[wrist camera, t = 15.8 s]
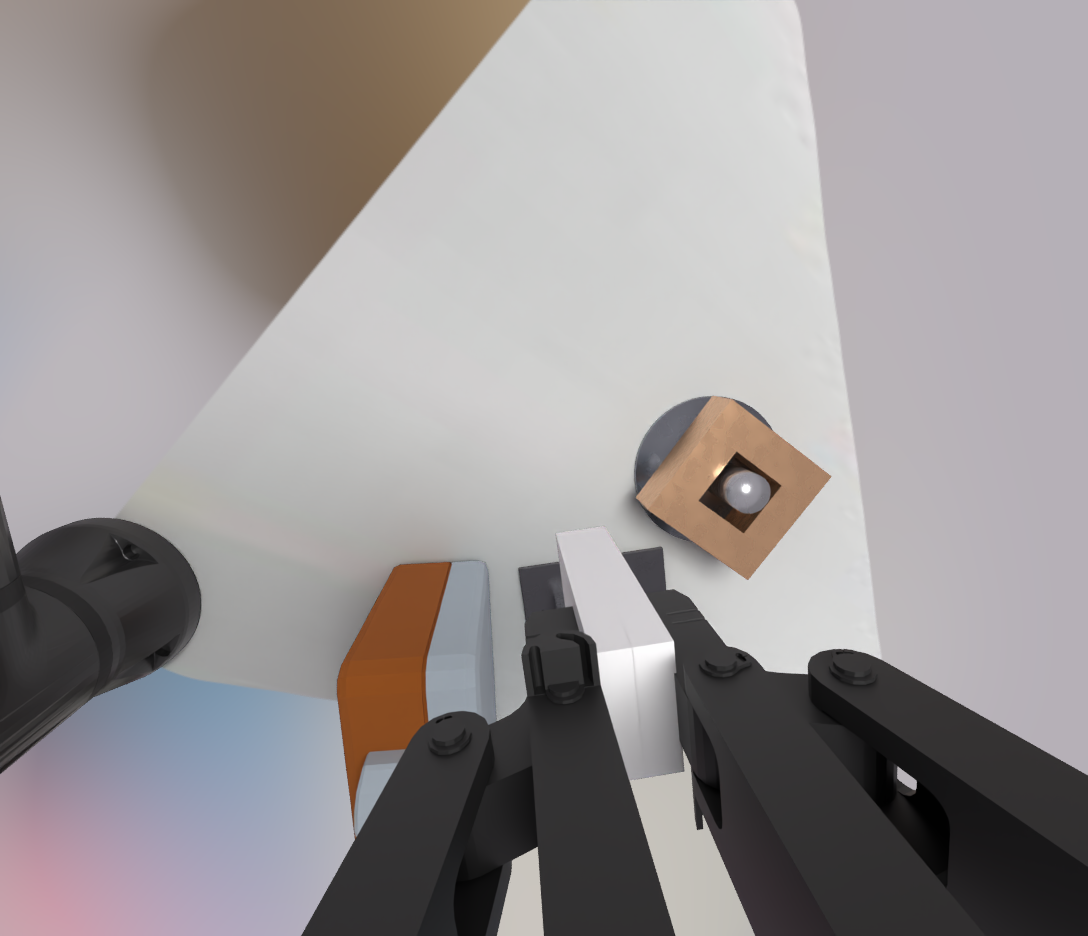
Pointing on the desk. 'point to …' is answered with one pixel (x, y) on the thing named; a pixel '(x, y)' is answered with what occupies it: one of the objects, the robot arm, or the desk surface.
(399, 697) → the grey rounded upright slab
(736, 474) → the hub
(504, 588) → the desk surface
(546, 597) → the stand
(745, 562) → the brown square ring block
